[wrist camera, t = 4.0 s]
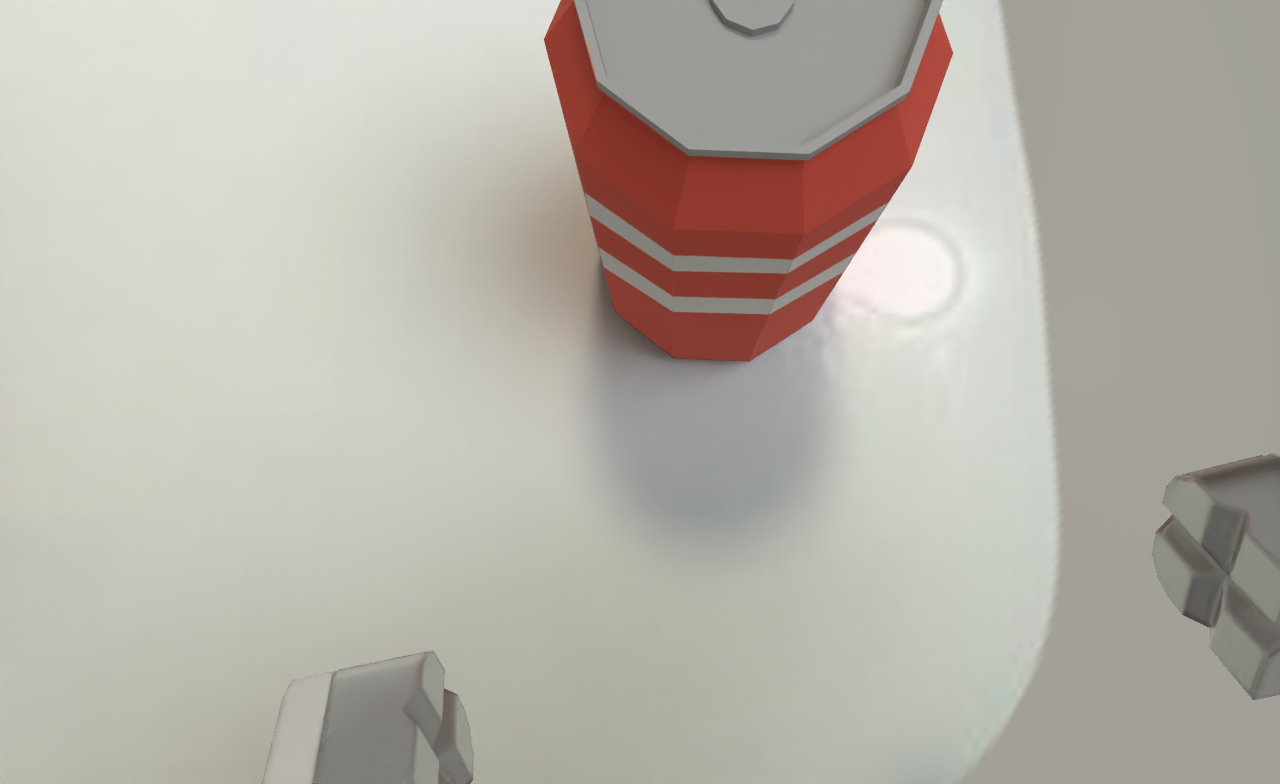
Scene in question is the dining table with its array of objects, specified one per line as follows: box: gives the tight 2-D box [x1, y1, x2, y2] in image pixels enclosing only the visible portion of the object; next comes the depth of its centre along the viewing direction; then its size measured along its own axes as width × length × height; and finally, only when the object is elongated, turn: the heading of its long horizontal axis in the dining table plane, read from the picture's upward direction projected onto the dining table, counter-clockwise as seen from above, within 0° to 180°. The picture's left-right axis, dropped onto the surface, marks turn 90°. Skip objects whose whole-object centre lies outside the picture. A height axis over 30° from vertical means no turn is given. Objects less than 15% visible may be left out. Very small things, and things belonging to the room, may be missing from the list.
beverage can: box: [544, 0, 953, 361], centre depth 18 cm, size 6×6×12 cm
